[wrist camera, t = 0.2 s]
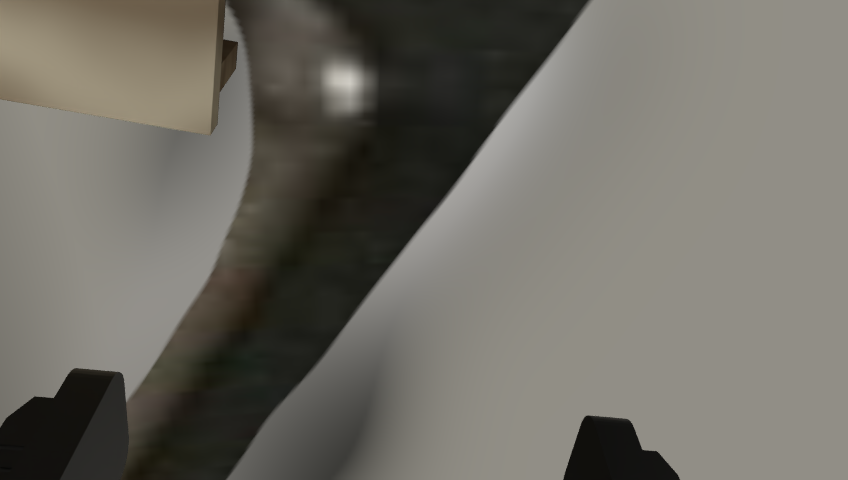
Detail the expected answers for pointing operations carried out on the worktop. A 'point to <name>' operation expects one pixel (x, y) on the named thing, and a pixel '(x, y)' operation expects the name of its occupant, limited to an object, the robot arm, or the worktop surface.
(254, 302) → the worktop surface
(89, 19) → the stool
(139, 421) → the worktop surface
